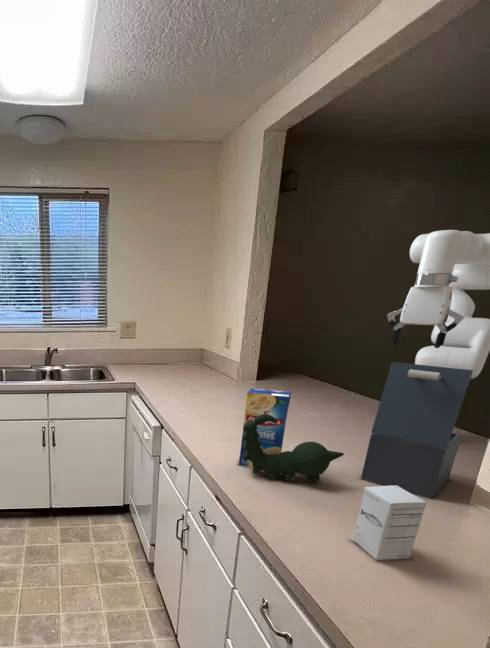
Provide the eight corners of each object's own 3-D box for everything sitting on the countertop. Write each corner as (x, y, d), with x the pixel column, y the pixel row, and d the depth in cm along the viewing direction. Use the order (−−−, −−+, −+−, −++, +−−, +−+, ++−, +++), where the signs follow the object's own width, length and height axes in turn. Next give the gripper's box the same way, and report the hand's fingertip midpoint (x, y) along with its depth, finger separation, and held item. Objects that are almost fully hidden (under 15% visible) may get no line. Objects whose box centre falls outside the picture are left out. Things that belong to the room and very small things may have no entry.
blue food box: (277, 471, 125) (289, 397, 118) (238, 464, 130) (247, 392, 122) (279, 463, 131) (291, 391, 123) (242, 457, 136) (250, 388, 128)
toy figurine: (241, 483, 121) (343, 490, 112) (242, 418, 115) (351, 419, 106) (242, 471, 129) (338, 476, 120) (244, 409, 123) (344, 410, 114)
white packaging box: (350, 540, 91) (363, 485, 87) (383, 538, 92) (398, 484, 87) (375, 561, 84) (390, 503, 80) (411, 559, 85) (428, 501, 80)
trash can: (382, 462, 131) (392, 421, 127) (448, 478, 120) (462, 434, 115) (360, 478, 120) (371, 434, 116) (431, 498, 109) (445, 450, 104)
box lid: (393, 362, 112) (387, 360, 108) (473, 370, 100) (469, 368, 97) (371, 432, 116) (365, 433, 112) (446, 448, 104) (442, 449, 101)
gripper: (476, 281, 113) (457, 347, 119) (399, 281, 125) (385, 342, 131) (470, 280, 108) (451, 350, 114) (390, 281, 120) (376, 344, 126)
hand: (416, 345), depth 122 cm, fingers open, 9 cm apart
